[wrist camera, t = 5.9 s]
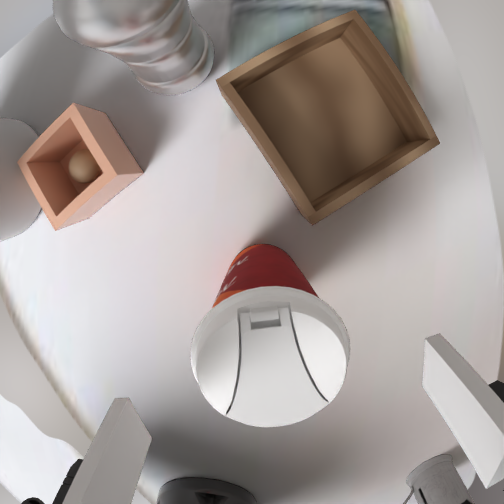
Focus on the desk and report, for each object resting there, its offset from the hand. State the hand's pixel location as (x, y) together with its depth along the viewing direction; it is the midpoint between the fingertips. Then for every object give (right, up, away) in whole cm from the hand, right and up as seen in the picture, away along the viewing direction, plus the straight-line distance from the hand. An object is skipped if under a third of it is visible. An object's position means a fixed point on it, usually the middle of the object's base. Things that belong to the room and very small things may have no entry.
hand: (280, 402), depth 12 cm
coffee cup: (0, +4, +17) cm, 17 cm away
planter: (-15, +14, +14) cm, 25 cm away
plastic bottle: (-8, +22, +12) cm, 26 cm away
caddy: (+5, +18, +13) cm, 22 cm away
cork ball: (-15, +14, +13) cm, 25 cm away
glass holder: (+26, -30, +26) cm, 47 cm away
